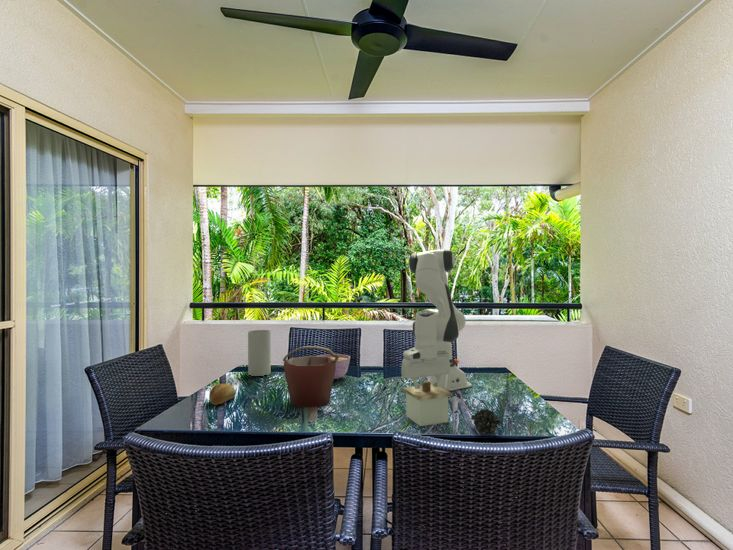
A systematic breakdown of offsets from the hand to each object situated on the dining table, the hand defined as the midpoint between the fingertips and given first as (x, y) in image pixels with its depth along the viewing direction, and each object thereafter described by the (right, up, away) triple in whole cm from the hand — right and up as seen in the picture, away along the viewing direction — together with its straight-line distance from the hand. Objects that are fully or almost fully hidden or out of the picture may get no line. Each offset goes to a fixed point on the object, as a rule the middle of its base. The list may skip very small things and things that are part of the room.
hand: (426, 387), depth 161 cm
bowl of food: (-42, -13, +66) cm, 80 cm away
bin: (0, -12, 0) cm, 12 cm away
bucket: (-49, -13, +23) cm, 55 cm away
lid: (0, -2, 0) cm, 2 cm away
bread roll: (-89, -14, +25) cm, 93 cm away
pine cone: (+19, -12, -12) cm, 26 cm away
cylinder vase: (-85, -14, +76) cm, 115 cm away
